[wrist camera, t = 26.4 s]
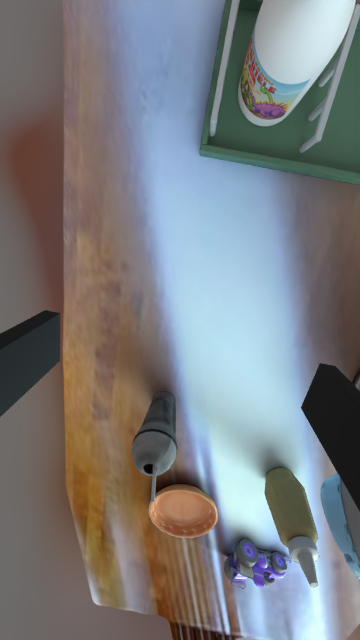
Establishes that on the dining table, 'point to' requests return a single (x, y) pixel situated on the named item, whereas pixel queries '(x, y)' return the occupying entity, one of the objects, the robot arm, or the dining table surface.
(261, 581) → the toy race car
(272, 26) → the milk bottle
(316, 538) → the squeeze bottle
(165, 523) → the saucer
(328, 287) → the dining table surface
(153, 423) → the beverage cup
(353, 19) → the drying rack
